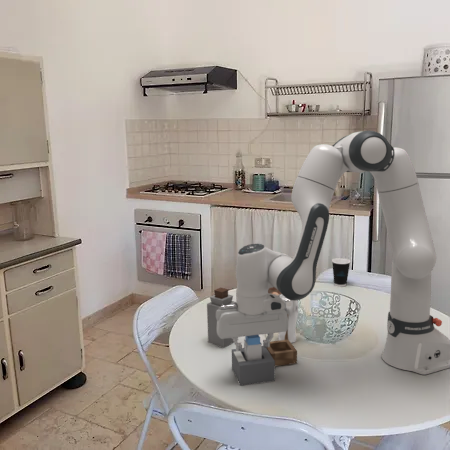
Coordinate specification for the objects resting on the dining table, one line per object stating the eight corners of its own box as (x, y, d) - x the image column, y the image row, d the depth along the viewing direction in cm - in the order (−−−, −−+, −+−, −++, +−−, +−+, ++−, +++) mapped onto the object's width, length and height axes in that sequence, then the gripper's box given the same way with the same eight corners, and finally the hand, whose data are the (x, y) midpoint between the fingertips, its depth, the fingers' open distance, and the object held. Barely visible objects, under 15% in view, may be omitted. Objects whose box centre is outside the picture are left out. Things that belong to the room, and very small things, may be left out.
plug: (257, 370, 144) (257, 331, 141) (261, 376, 140) (261, 337, 138) (244, 371, 143) (244, 333, 141) (248, 378, 139) (247, 339, 137)
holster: (288, 351, 155) (288, 339, 154) (297, 363, 147) (297, 350, 147) (263, 354, 153) (263, 342, 153) (271, 366, 146) (271, 354, 145)
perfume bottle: (236, 340, 163) (236, 289, 159) (223, 348, 158) (222, 294, 154) (221, 335, 167) (220, 284, 164) (208, 342, 162) (206, 290, 158)
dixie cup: (340, 280, 220) (341, 257, 217) (353, 285, 213) (354, 261, 210) (327, 284, 216) (327, 259, 214) (339, 289, 209) (340, 264, 207)
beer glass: (297, 345, 159) (297, 301, 156) (275, 343, 161) (275, 299, 157) (298, 335, 166) (298, 293, 163) (277, 334, 167) (277, 292, 164)
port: (264, 364, 147) (264, 344, 146) (274, 380, 138) (274, 360, 137) (231, 368, 145) (231, 348, 144) (240, 385, 136) (239, 365, 134)
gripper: (217, 310, 132) (219, 357, 135) (290, 302, 136) (290, 349, 139) (213, 302, 138) (214, 347, 141) (283, 295, 142) (282, 339, 145)
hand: (252, 348), depth 140 cm, fingers open, 7 cm apart
